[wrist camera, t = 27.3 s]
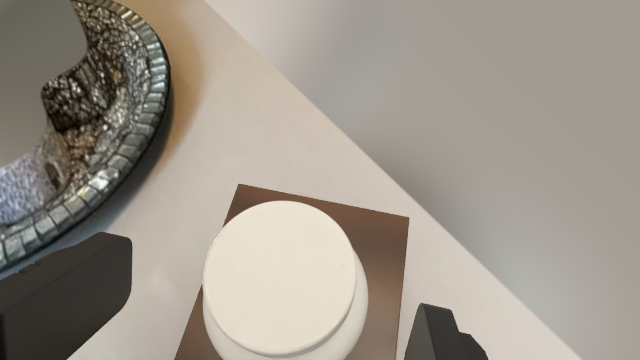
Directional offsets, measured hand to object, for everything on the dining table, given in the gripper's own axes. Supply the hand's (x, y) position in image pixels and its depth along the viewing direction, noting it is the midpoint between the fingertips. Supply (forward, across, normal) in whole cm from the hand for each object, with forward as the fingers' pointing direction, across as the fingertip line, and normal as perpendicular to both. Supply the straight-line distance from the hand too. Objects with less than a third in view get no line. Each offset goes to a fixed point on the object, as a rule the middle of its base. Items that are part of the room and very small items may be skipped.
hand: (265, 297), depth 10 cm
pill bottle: (+9, 0, +8) cm, 12 cm away
